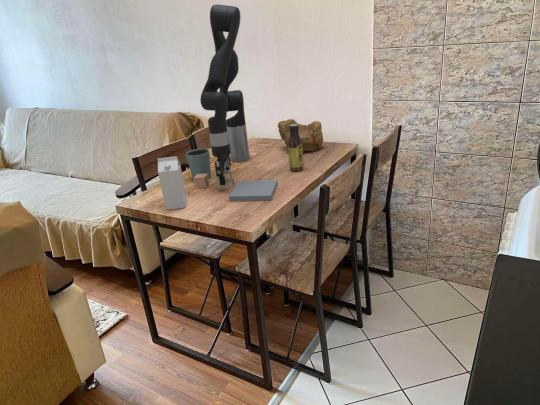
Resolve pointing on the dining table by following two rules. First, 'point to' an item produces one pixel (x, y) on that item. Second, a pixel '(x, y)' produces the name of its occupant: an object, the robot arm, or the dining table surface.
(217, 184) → the beech cube
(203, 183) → the terracotta block
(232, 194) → the base board
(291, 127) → the sauce bottle
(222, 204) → the dining table surface
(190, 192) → the dining table surface
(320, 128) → the rough brown rock
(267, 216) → the dining table surface
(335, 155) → the dining table surface
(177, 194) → the milk carton
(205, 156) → the teal cup
